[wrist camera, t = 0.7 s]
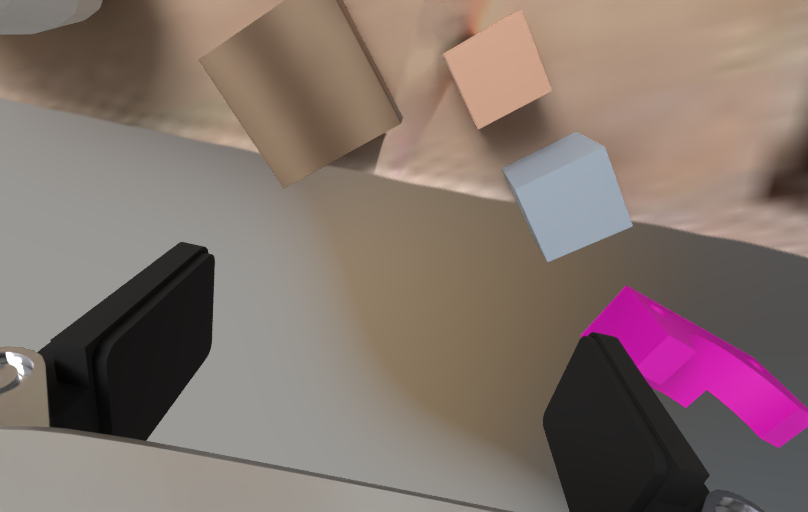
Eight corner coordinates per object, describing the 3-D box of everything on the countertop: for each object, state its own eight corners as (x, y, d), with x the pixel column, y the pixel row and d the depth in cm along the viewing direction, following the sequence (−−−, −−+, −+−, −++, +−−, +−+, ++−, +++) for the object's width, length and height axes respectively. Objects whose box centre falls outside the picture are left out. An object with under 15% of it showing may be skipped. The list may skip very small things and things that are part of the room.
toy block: (580, 335, 40) (610, 392, 34) (626, 285, 38) (668, 335, 31) (702, 400, 43) (753, 466, 36) (753, 357, 40) (818, 418, 34)
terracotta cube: (507, 15, 30) (521, 9, 25) (534, 84, 31) (552, 90, 27) (441, 54, 31) (444, 55, 26) (471, 118, 33) (478, 129, 28)
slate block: (575, 131, 33) (604, 146, 27) (600, 199, 35) (632, 226, 29) (501, 167, 34) (514, 189, 29) (529, 231, 36) (547, 262, 31)
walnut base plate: (332, -19, 29) (322, -26, 26) (403, 117, 33) (400, 123, 30) (218, 59, 32) (198, 60, 29) (295, 178, 35) (284, 188, 32)
